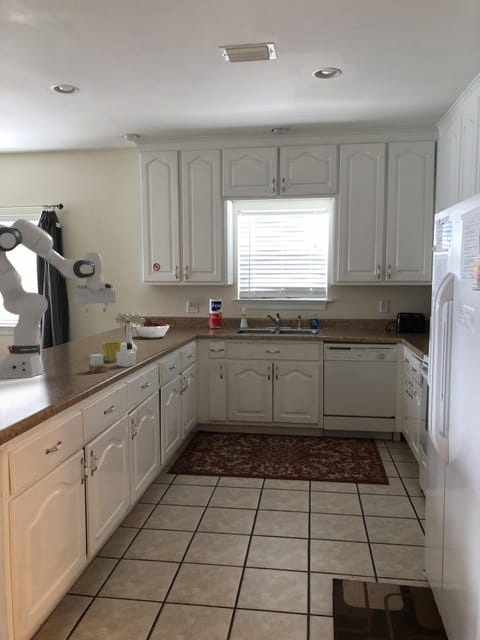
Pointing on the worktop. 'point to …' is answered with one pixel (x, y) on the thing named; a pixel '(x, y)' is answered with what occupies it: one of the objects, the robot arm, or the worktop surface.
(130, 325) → the flower vase
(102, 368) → the block
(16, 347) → the robot arm
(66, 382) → the worktop surface
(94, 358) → the cube
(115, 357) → the plant pot
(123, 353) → the medicine bottle
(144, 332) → the white bowl
